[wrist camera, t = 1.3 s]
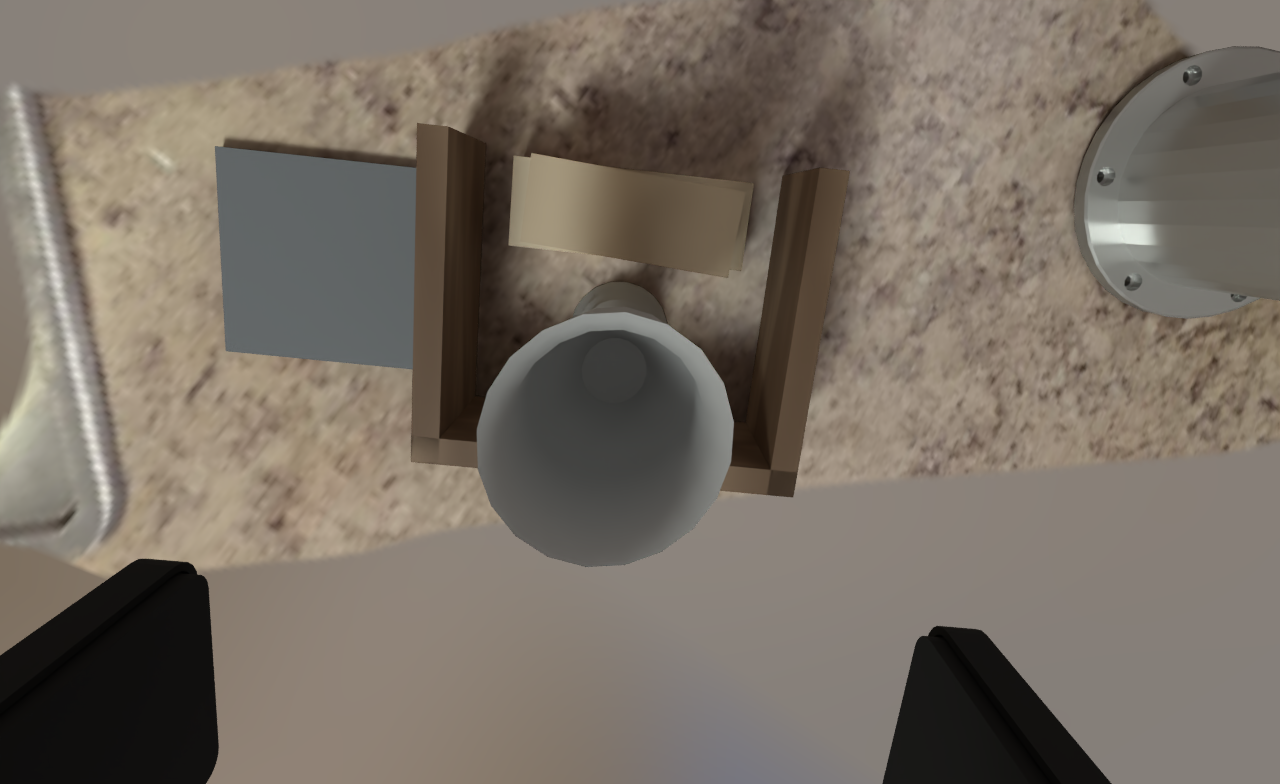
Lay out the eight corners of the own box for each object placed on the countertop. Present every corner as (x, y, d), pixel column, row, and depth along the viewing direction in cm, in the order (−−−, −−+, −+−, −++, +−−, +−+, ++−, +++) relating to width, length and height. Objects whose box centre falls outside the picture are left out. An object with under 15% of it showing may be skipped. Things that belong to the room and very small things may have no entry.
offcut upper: (734, 193, 31) (745, 192, 29) (719, 271, 32) (727, 277, 29) (540, 158, 31) (531, 153, 28) (530, 238, 32) (520, 241, 29)
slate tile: (429, 169, 34) (425, 169, 33) (425, 367, 36) (421, 370, 35) (222, 147, 33) (214, 146, 33) (232, 348, 36) (225, 350, 35)
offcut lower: (743, 185, 34) (753, 183, 31) (732, 265, 35) (741, 270, 32) (523, 160, 34) (513, 155, 31) (518, 242, 35) (508, 245, 32)
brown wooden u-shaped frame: (806, 178, 34) (849, 170, 27) (764, 445, 37) (793, 497, 31) (461, 140, 33) (417, 123, 26) (451, 415, 37) (411, 461, 30)
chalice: (590, 236, 34) (546, 263, 17) (709, 296, 35) (783, 382, 18) (530, 363, 36) (434, 507, 19) (645, 418, 37) (656, 604, 20)
